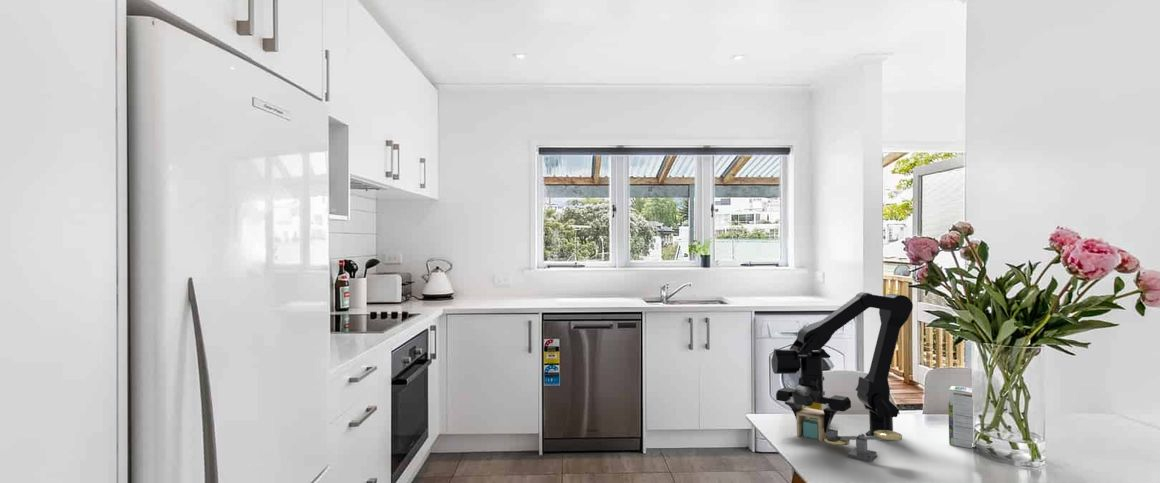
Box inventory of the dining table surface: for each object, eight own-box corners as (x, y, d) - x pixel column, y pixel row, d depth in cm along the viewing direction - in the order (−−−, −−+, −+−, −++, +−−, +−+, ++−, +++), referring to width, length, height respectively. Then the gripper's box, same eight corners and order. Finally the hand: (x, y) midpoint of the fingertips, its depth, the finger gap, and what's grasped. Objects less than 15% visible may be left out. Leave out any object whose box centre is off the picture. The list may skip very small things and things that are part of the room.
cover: (806, 430, 159) (805, 407, 159) (829, 435, 154) (828, 411, 154) (797, 436, 154) (796, 412, 154) (820, 441, 150) (820, 416, 150)
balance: (829, 444, 146) (828, 419, 147) (906, 461, 134) (905, 433, 134) (820, 450, 142) (819, 424, 142) (899, 468, 130) (898, 439, 130)
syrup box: (951, 439, 149) (949, 385, 150) (978, 443, 146) (976, 387, 146) (949, 445, 145) (946, 389, 145) (976, 449, 141) (974, 392, 141)
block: (809, 432, 157) (808, 418, 157) (823, 435, 154) (823, 421, 154) (803, 436, 154) (802, 421, 154) (817, 439, 151) (817, 424, 151)
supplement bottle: (799, 419, 170) (798, 387, 170) (808, 415, 173) (807, 384, 173) (816, 423, 165) (815, 390, 166) (825, 419, 169) (824, 387, 169)
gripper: (766, 373, 155) (768, 430, 155) (836, 383, 142) (837, 444, 142) (783, 367, 163) (785, 421, 163) (850, 376, 150) (852, 434, 150)
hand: (813, 429), depth 154 cm, fingers closed on cover, 6 cm apart
